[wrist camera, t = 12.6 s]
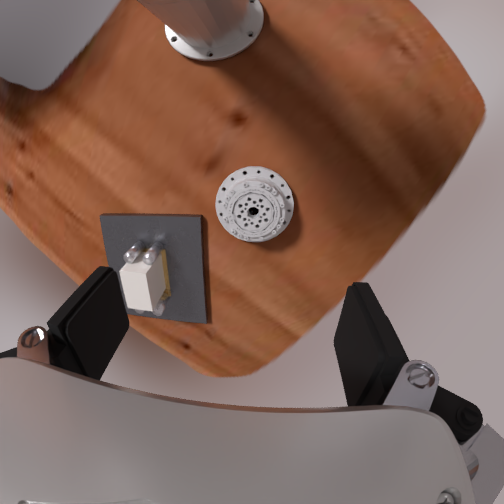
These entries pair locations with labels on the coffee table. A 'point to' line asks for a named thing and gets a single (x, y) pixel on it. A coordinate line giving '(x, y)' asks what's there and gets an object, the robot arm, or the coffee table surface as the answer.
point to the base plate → (173, 258)
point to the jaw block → (143, 283)
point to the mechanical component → (254, 204)
